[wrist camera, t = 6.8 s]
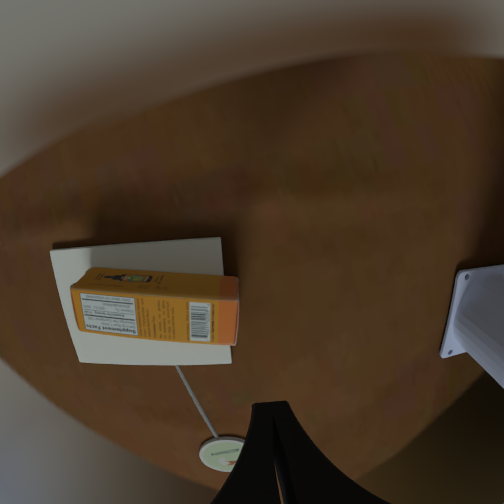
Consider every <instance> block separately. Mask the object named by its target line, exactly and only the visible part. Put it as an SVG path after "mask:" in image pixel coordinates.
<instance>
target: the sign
mask: <svg viewBox="0 0 504 504" xmlns="http://www.w3.org/2000/svg"><path fill="white" fill-rule="evenodd" d="M175 366H176V368H177V370H178V372H179V374H180V376H181V378H182V380H183V382H184V384H185V386H186V388H187V390H188V391H189V393H190V395H191V397H192V399H193V401H194V402H195V404H196V406H197V408H198V409H199V411H200V413H201V415H202V416H203V418H204V420H205V421H206V423H207V425H208V427H209V428H210V430H211V432H212V433H213V435H214V436H215V438H213V439H210V440H208V441H206V442H205V443H204V444H203V445H202V446H201V448H200V453H199V455H200V459H201V460H202V462H203V463H204V464H205V465H207V466H208V467H210V468H213V469H215V470H219V471H226V472H231V471H232V469H233V467H234V465H235V463H236V461H237V459H238V457H239V454H240V452H241V449H242V447H243V444H244V442H245V440H244V439H241V438H236V437H219V435H218V434H217V432H216V431H215V429H214V427H213V426H212V424H211V422H210V421H209V419H208V417H207V416H206V414H205V412H204V410H203V409H202V407H201V405H200V404H199V402H198V400H197V398H196V397H195V395H194V393H193V391H192V390H191V388H190V386H189V384H188V383H187V381H186V379H185V377H184V375H183V374H182V372H181V370H180V368H179V366H178V365H175Z"/></svg>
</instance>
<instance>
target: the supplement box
mask: <svg viewBox="0 0 504 504" xmlns="http://www.w3.org/2000/svg"><path fill="white" fill-rule="evenodd" d="M70 295H71V301H72V307H73V312H74V317H75V321H76V324H77V328H78V330H79V331H81V332H88V333H96V334H103V335H111V336H119V337H127V338H136V339H146V340H156V341H168V342H180V343H195V344H211V345H231V346H234V345H236V342H237V333H238V322H239V279H238V278H237V277H235V276H222V275H206V274H190V273H174V272H160V271H144V270H129V269H114V268H98V267H91V268H89V269H88V270H87V271H86V272H85V274H84V275H83V276H82V277H81V278H80V279H79V280H78V281H77V282H76V283H73V284H72V285H71V286H70Z"/></svg>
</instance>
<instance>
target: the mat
mask: <svg viewBox="0 0 504 504" xmlns="http://www.w3.org/2000/svg"><path fill="white" fill-rule="evenodd" d="M50 255H51V260H52V265H53V269H54V274H55V278H56V283H57V287H58V291H59V295H60V299H61V303H62V306H63V310H64V314H65V317H66V321H67V324H68V327H69V331H70V334H71V337H72V340H73V343H74V346H75V349H76V352H77V355H78V358H79V361H80V362H87V363H104V364H128V365H203V364H228V363H232V359H231V349H230V345H211V344H195V343H180V342H168V341H156V340H146V339H136V338H127V337H119V336H111V335H103V334H96V333H88V332H81V331H79V330H78V328H77V324H76V321H75V317H74V312H73V307H72V301H71V295H70V286H71V285H72V284H73V283H76V282H77V281H78V280H79V279H80V278H81V277H82V276H83V275H84V274H85V272H86V271H87V270H88V269H89V268H91V267H98V268H114V269H129V270H144V271H160V272H174V273H190V274H206V275H222V276H224V271H223V259H222V246H221V237H212V238H196V239H182V240H167V241H153V242H139V243H126V244H113V245H100V246H88V247H75V248H63V249H52V250H51V251H50Z"/></svg>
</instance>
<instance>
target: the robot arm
mask: <svg viewBox="0 0 504 504" xmlns="http://www.w3.org/2000/svg"><path fill="white" fill-rule="evenodd" d="M466 274H467V275H466ZM465 276H466V277H465ZM464 352H468V353H469V354H470V355H471V356H472V357H473V358H474V359H475V360H476V361H477V362H478V363H479V364H480V365H481V366H482V367H483V368H484V369H485V370H486V371H487V372H488V373H489V374H490V375H491V376H492V377H493V378H494V379H495V380H496V381H497V382H498V383H499V384H500V385H501V386H502V387H503V388H504V264H502V265H495V266H488V267H481V268H473V269H466V270H460V271H459V272H458V273H457V275H456V279H455V285H454V291H453V296H452V302H451V307H450V312H449V317H448V321H447V326H446V330H445V334H444V338H443V342H442V346H441V350H440V356H441V357H442V358H446V357H450V356H453V355H457V354H460V353H464ZM274 463H275V465H274ZM275 467H276V471H275ZM276 472H277V476H278V480H279V484H280V488H281V493H282V497H283V502H284V504H391V503H389V502H387V501H384V500H383V499H381V498H379V497H377V496H375V495H374V494H372V493H370V492H369V491H367V490H365V489H364V488H362V487H361V486H359V485H358V484H357V483H355V482H354V481H353V480H351V479H350V478H349V477H347V476H346V475H345V474H344V473H343V472H341V471H340V470H339V469H338V468H337V467H336V466H335V465H334V464H333V463H331V462H330V461H329V460H328V459H327V458H326V456H325V455H324V454H323V453H322V452H321V451H320V450H319V449H318V447H317V446H316V445H315V444H314V443H313V441H312V440H311V439H310V438H309V436H308V435H307V433H306V432H305V431H304V429H303V428H302V426H301V425H300V423H299V422H298V420H297V418H296V417H295V415H294V413H293V411H292V410H291V408H290V405H289V403H288V402H287V401H276V402H263V403H254V404H253V405H252V414H251V420H250V425H249V429H248V432H247V435H246V438H245V442H244V444H243V447H242V449H241V452H240V454H239V457H238V459H237V461H236V463H235V465H234V467H233V469H232V471H231V473H230V475H229V477H228V478H227V480H226V482H225V483H224V485H223V486H222V488H221V490H220V491H219V493H218V494H217V495H216V497H215V498H214V499H213V501H212V502H211V503H210V504H281V501H280V495H279V489H278V484H277V478H276ZM503 504H504V503H503Z"/></svg>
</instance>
